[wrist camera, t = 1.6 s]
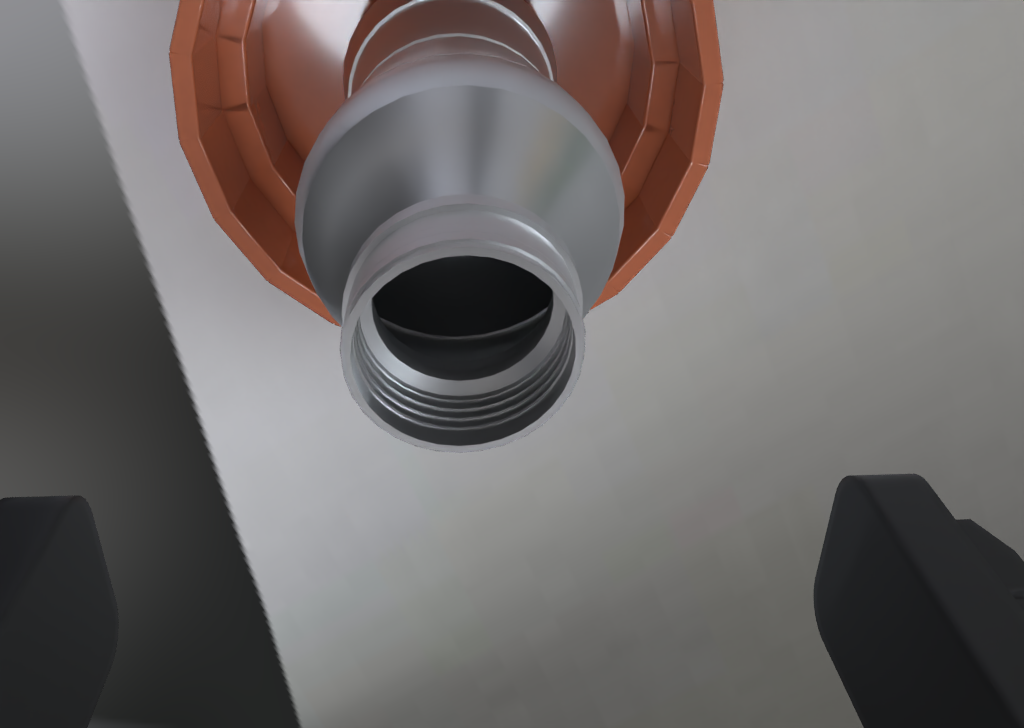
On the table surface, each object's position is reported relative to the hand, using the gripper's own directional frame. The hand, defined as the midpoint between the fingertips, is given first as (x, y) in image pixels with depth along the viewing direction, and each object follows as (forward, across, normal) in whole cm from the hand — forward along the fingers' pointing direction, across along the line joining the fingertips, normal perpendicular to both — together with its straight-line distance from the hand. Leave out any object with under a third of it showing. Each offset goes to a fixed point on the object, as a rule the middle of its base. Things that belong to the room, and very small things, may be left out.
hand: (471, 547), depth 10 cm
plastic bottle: (+24, 0, 0) cm, 24 cm away
